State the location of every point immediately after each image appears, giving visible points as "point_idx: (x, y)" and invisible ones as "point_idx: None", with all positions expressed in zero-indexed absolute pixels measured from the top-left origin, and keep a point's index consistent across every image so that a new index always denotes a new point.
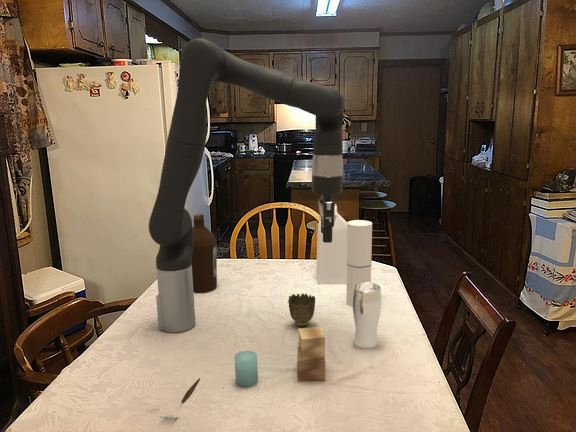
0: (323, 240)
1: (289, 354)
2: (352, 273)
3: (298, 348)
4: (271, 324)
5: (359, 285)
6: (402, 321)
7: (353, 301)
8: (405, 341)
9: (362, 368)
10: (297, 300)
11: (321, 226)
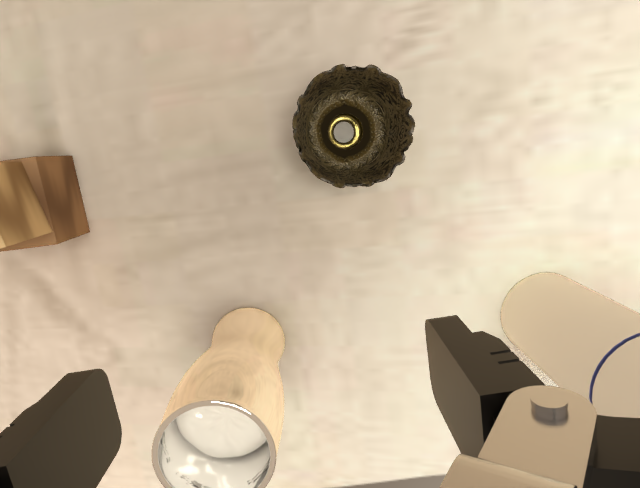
0: (66, 381)
1: (136, 119)
2: (580, 345)
3: (17, 162)
4: (339, 15)
5: (261, 417)
6: (407, 443)
7: (200, 370)
8: None
9: (105, 334)
10: (396, 103)
11: (446, 351)
